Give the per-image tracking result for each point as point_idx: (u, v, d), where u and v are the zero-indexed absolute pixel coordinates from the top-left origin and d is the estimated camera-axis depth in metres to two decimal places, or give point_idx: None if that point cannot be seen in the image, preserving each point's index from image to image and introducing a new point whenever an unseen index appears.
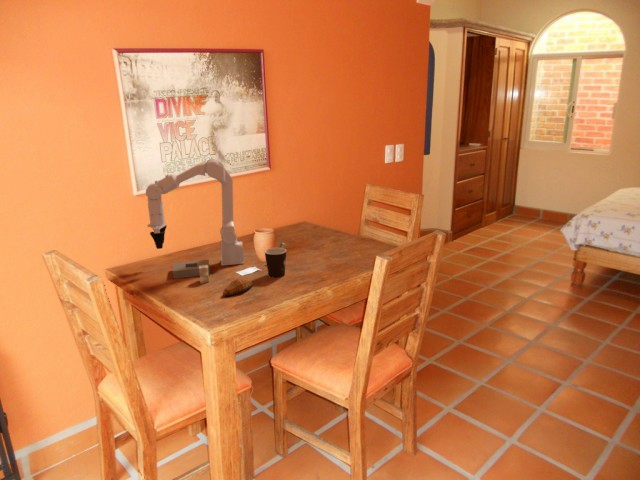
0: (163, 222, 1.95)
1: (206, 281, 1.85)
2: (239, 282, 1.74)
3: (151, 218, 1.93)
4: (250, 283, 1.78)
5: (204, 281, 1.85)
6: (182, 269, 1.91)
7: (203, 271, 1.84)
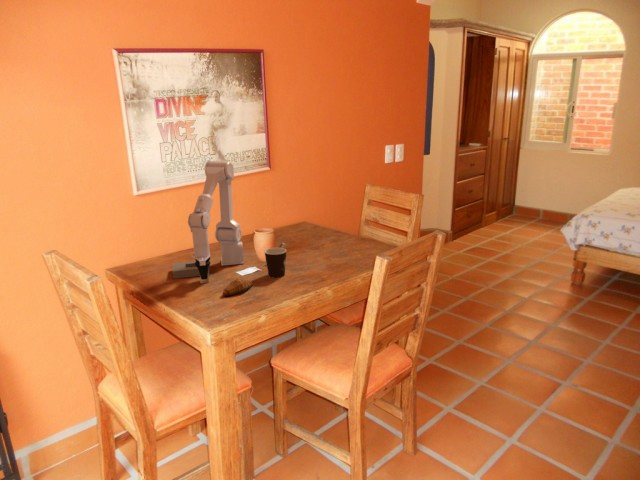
0: (208, 253, 1.82)
1: (206, 281, 1.85)
2: (239, 282, 1.74)
3: (196, 249, 1.80)
4: (250, 283, 1.78)
5: (204, 281, 1.85)
6: (182, 269, 1.91)
7: None
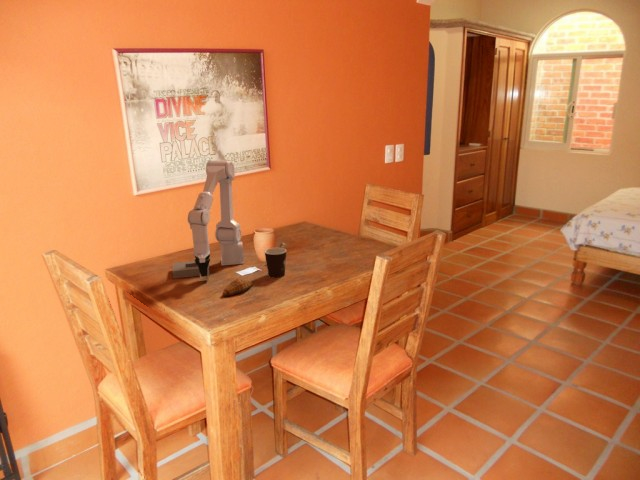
0: (208, 250, 1.82)
1: (206, 278, 1.85)
2: (239, 282, 1.74)
3: (195, 246, 1.80)
4: (250, 283, 1.78)
5: (204, 278, 1.85)
6: (182, 269, 1.91)
7: None
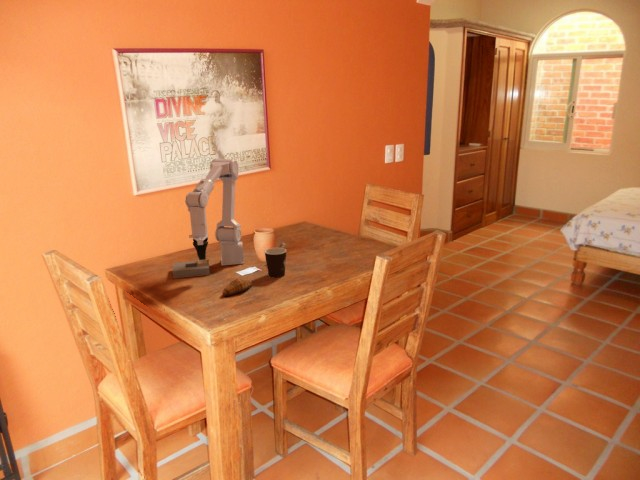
0: (206, 233, 1.81)
1: (204, 261, 1.83)
2: (239, 282, 1.74)
3: (193, 228, 1.78)
4: (250, 283, 1.78)
5: (202, 261, 1.83)
6: (182, 269, 1.91)
7: None
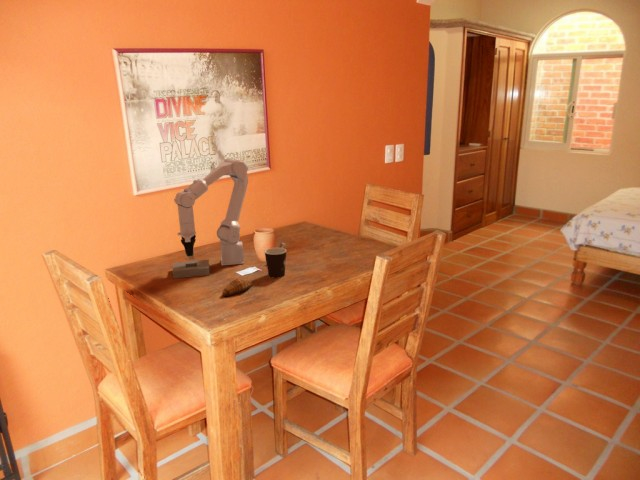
0: (193, 230, 1.91)
1: (191, 258, 1.93)
2: (238, 282, 1.74)
3: (181, 226, 1.89)
4: (249, 283, 1.78)
5: (189, 258, 1.93)
6: (182, 269, 1.91)
7: None
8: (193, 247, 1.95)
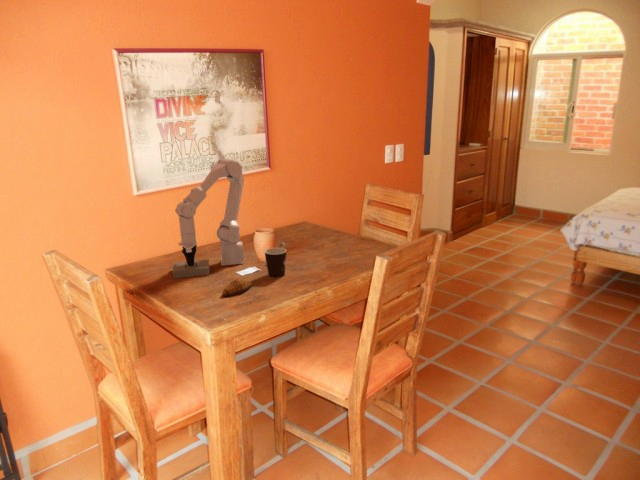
0: (194, 241, 1.92)
1: None
2: (239, 282, 1.74)
3: (183, 237, 1.90)
4: (249, 283, 1.78)
5: None
6: (182, 269, 1.91)
7: None
8: (194, 257, 1.96)
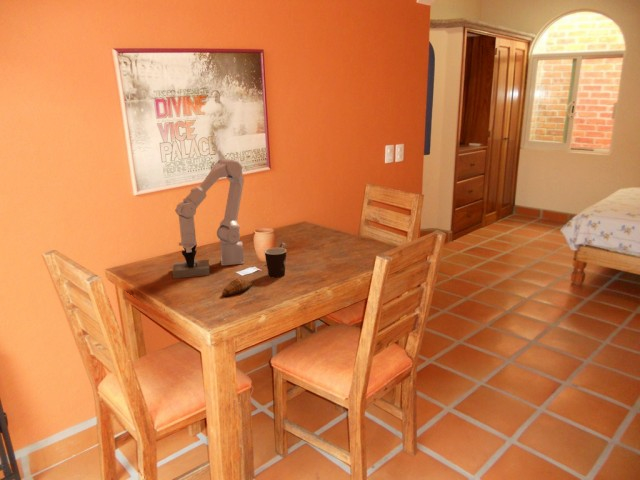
0: (194, 241, 1.92)
1: None
2: (238, 282, 1.74)
3: (183, 237, 1.90)
4: (249, 283, 1.78)
5: None
6: (182, 269, 1.91)
7: None
8: None
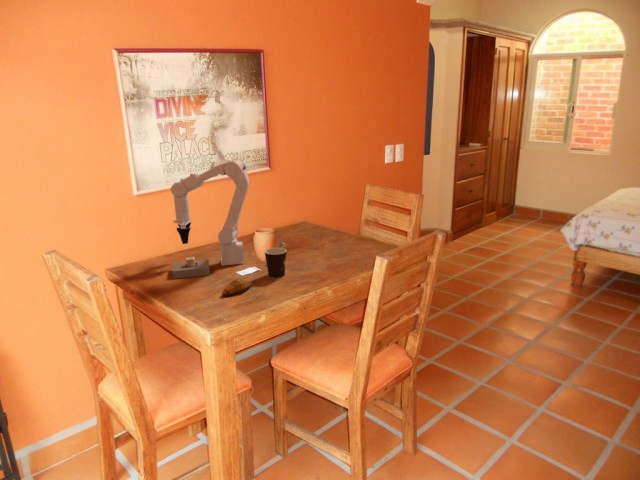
0: (188, 218, 2.03)
1: None
2: (238, 282, 1.74)
3: (177, 214, 2.01)
4: (249, 283, 1.78)
5: None
6: (182, 269, 1.91)
7: (190, 263, 1.94)
8: None
